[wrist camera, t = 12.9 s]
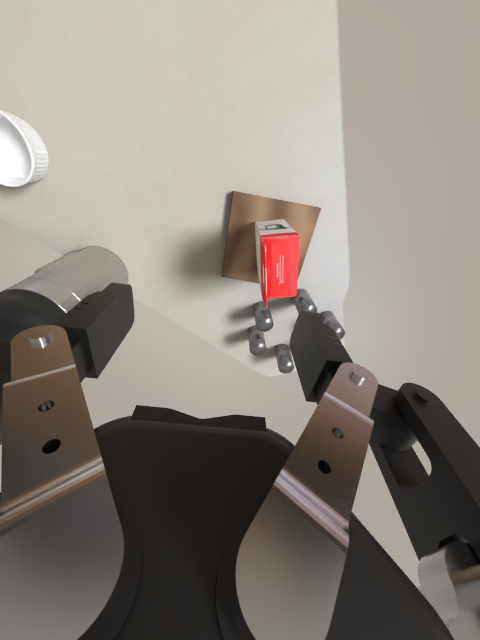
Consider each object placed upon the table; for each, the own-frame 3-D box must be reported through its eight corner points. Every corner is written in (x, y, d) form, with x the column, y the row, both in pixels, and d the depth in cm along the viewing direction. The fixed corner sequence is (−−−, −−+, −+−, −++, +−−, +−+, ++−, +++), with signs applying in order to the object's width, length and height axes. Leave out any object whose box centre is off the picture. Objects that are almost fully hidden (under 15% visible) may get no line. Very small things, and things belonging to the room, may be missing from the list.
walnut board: (222, 274, 44) (221, 276, 43) (233, 191, 37) (233, 191, 36) (293, 285, 46) (294, 288, 45) (318, 207, 38) (320, 208, 37)
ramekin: (22, 98, 31) (-7, 88, 27) (67, 174, 35) (48, 175, 32) (-32, 122, 32) (-66, 116, 28) (18, 192, 37) (-6, 195, 33)
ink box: (283, 267, 42) (302, 308, 30) (256, 270, 43) (264, 311, 30) (284, 217, 38) (307, 240, 25) (253, 220, 38) (261, 245, 26)
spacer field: (244, 350, 54) (244, 368, 49) (260, 282, 45) (262, 296, 40) (314, 358, 56) (322, 377, 51) (343, 295, 47) (356, 310, 42)
